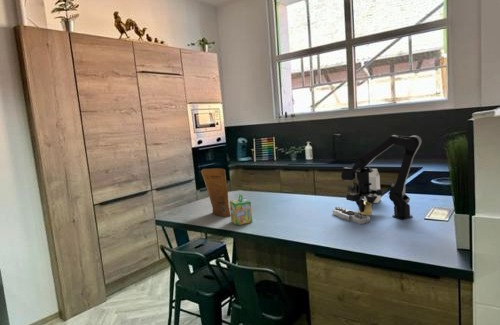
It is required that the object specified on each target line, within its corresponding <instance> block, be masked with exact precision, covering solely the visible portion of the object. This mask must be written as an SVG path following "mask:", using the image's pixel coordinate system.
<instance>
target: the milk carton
mask: <svg viewBox="0 0 500 325" xmlns="http://www.w3.org/2000/svg"><path fill="white" fill-rule="evenodd" d="M371 169H372V170H373V172H371V173H369V182H370V183H371V185H370V189H372V188H376V189H381V178H380V173H379V170H378V168H371ZM375 196H377V195H376V194H375ZM363 200H364V201H366V202H367V199H366V197H365V196H364V197H363ZM381 200H382V195H380V196H377V198H376V199H375V201H374V203H373V204H378V203H379V202H380V201H381Z"/></svg>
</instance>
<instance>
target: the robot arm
mask: <svg viewBox="0 0 500 325" xmlns="http://www.w3.org/2000/svg"><path fill="white" fill-rule="evenodd" d="M393 145H396V146H401V147H404V156H403V159H402V162H401V165H400V169H399V172H398V176H397V177H396V178H397V179H396V181H395V183H394V182H393V183H392V184H391V185H390V188H389V191H388V193H387V194H388V195H389V196H388V198H389V200H390V201H391V202H392V204H393V211H394V214H392V217H393V218H397V219H400V220H407V219H410V218H413V215H411V206H410V205H411V204H409V203H410V200H411V197H409V196H408V195H407V194H406V183H407V181H408V177H409V174H410V171H411V166H412V164H413V161H414V158H415V156H416V154H417V152H418V150H419V148H420V147H421V145H422V138H421V137H420V136H419V135H415V134H414V135H411V136H407V135H397V134H393V135H390V136H389V138H387V139H386V140H385V141H383V142H382V143H380V144H379V145H377V146H376V147H375V148H373V149H371V150H370V151H369V152H366V153H365V154H363V155H361V156H358V157H356V158H355V161H354V164H353V166H352V167H342V171H341V175H340V176H341V180H342V181H345V182H347V181H349V182H354V181H356V179H357V181H356V183H355V185H354V186H353V185H351V184H350V185H347V192H349V193H347V194H346V196H345V200H347V201H350V202H355V204H356V205H357V207H358V211H359V210H360V212H363V205H364V199H363V198H364V196H365V197H366V199H367V202H370V203H371V205H372V206H373V204H375V203H374V201H375V199H376V198H377V196H380V195H381V196H383V191H382V189H381V188H380V189H376V188H372V189H370V185H371V183H370V182H369V173H371V172H373V170H372V169H373V168H371V167H370V166H369V165H370V164H371V163H372V162H373V161H374V160H375V159H376V158H377V157H378V156H380V155H381V154H382V153H384V152H385V151H387V150H389V148H391V147H392V146H393ZM366 167H367V168H366ZM375 194H376V195H377V196H375Z"/></svg>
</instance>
